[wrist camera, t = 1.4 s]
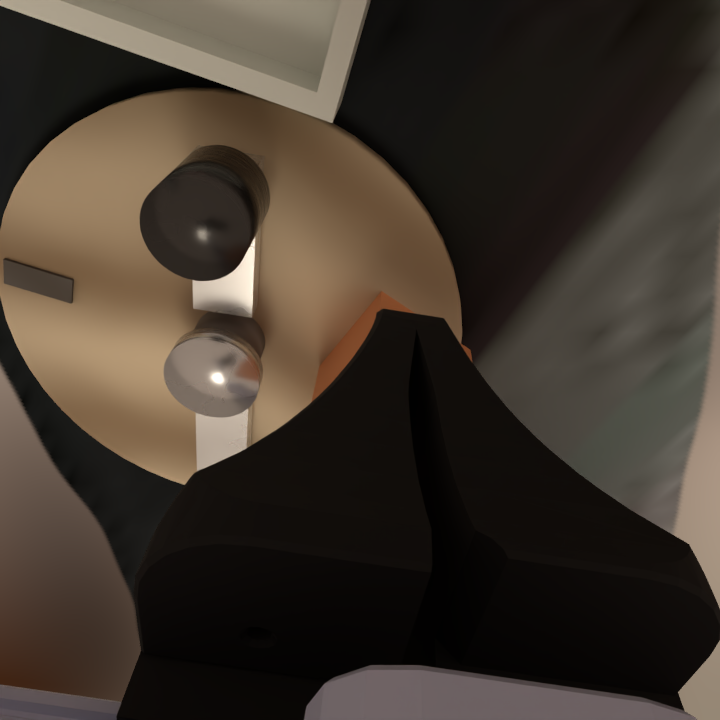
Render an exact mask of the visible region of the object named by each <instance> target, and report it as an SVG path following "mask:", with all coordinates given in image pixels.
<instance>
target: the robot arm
mask: <svg viewBox="0 0 720 720" xmlns="http://www.w3.org/2000/svg"><path fill="white" fill-rule="evenodd" d="M134 600H135V607H136V615H137V623H138V630H139V638H140V646H141V653H140V655H139V658H138V661H137V663H136V666H135V669H134V671H133V674H132V676H131V679H130V682H129V684H128V687H127V690H126V692H125V695H124V697H123V700H122V702H118V701H111V700H105V699H97V698H91V697H83V696H76V695H69V694H62V693H55V692H47V691H41V690H34V689H27V688H20V687H13V686H6V685H0V720H697V719H696V718H695V717H694V716H692V715H690V714H688V713H687V712H685V711H684V708H683V706H682V703H681V700H680V697H679V694H678V691H679V690H680V689H681V688H682V687H683V686H684V685H685V683H686V682H687V681H688V680H689V679H690V678H691V677H692V676H693V674H694V673H695V672H696V671H697V670H698V669H699V668H700V666H701V665H702V664H703V663H704V662H705V661H706V659H707V658H708V657H709V656H710V655H711V653H712V652H713V650H714V649H715V647H716V645H717V644H718V642H719V640H720V609H719V606H718V603H717V601H716V599H715V597H714V594H713V592H712V590H711V588H710V585H709V583H708V581H707V579H706V576H705V574H704V572H703V570H702V568H701V566H700V564H699V562H698V561H697V558H696V556H695V555H694V553H693V551H692V549H691V547H690V546H689V544H687V543H686V542H684V541H682V540H681V539H679V538H677V537H675V536H674V535H672V534H670V533H669V532H667V531H665V530H664V529H662V528H660V527H658V526H657V525H655V524H653V523H652V522H650V521H648V520H647V519H645V518H643V517H641V516H640V515H638V514H636V513H635V512H633V511H631V510H630V509H628V508H627V507H625V506H624V505H622V504H621V503H619V502H618V501H616V500H615V499H613V498H612V497H610V496H609V495H608V494H606V493H605V492H603V491H602V490H600V489H599V488H597V487H596V486H595V485H593V484H592V483H591V482H589V481H588V480H587V479H585V478H584V477H582V476H581V475H580V474H578V473H577V472H576V471H575V470H573V469H572V468H571V467H570V466H569V465H567V464H566V463H565V462H564V461H563V460H561V459H560V458H559V457H558V456H556V455H555V454H554V453H553V452H552V451H551V450H549V449H548V448H547V447H546V446H545V445H544V444H543V443H542V442H540V441H539V440H538V439H537V438H536V437H535V436H534V435H533V434H532V433H531V432H530V431H529V430H528V429H527V428H526V427H525V426H524V425H523V424H522V423H521V422H520V421H519V420H518V419H517V418H516V417H515V416H514V415H513V413H512V412H511V411H510V410H509V409H508V408H507V407H506V406H505V404H504V403H503V402H502V401H501V400H500V398H499V397H498V396H497V395H496V394H495V392H494V391H493V390H492V389H491V388H490V386H489V385H488V384H487V382H486V381H485V380H484V378H483V377H482V375H481V374H480V373H479V371H478V370H477V368H476V367H475V366H474V364H473V363H472V361H471V360H470V358H469V357H468V355H467V354H466V352H465V351H464V349H463V347H462V346H461V344H460V343H459V341H458V339H457V338H456V336H455V335H454V333H453V331H452V330H451V328H450V326H449V325H448V323H447V322H446V320H445V319H444V318H441V317H434V316H428V315H421V314H415V313H409V312H402V311H396V310H390V309H381V310H380V311H378V312H377V313H376V318H375V321H374V324H373V326H372V328H371V330H370V332H369V333H368V335H367V337H366V339H365V340H364V342H363V343H362V345H361V346H360V348H359V349H358V351H357V352H356V354H355V355H354V356H353V358H352V359H351V360H350V362H349V363H348V364H347V365H346V366H345V368H344V369H343V370H342V371H341V372H340V374H339V375H338V376H337V377H336V378H335V380H334V381H333V382H332V383H331V384H330V385H329V386H328V387H327V388H326V389H325V390H324V391H323V392H322V393H321V394H320V395H319V396H318V397H317V398H316V399H314V400H313V401H312V402H311V403H310V404H309V405H308V406H307V407H305V408H304V409H303V410H302V411H300V412H299V413H298V414H297V415H295V416H294V417H293V418H292V419H290V420H289V421H288V422H286V423H285V424H284V425H282V426H281V427H280V428H278V429H277V430H275V431H274V432H272V433H270V434H269V435H267V436H265V437H264V438H262V439H261V440H259V441H257V442H256V443H254V444H252V445H251V446H249V447H248V448H246V449H244V450H242V451H241V452H239V453H237V454H234V455H232V456H230V457H228V458H226V459H224V460H221V461H219V462H217V463H215V464H213V465H210V466H208V467H206V468H203V469H201V470H198V471H196V472H195V473H194V474H193V475H192V476H191V477H190V479H189V480H188V481H187V483H186V484H185V485H184V487H183V488H182V489H181V491H180V492H179V494H178V495H177V496H176V498H175V499H174V501H173V502H172V504H171V506H170V507H169V509H168V510H167V512H166V513H165V515H164V517H163V518H162V520H161V522H160V523H159V525H158V527H157V529H156V531H155V532H154V534H153V536H152V538H151V541H150V543H149V545H148V548H147V550H146V552H145V555H144V557H143V559H142V562H141V564H140V566H139V568H138V571H137V573H136V575H135V584H134Z"/></svg>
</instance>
